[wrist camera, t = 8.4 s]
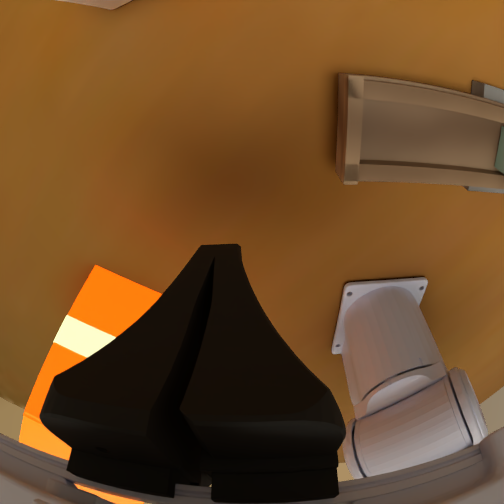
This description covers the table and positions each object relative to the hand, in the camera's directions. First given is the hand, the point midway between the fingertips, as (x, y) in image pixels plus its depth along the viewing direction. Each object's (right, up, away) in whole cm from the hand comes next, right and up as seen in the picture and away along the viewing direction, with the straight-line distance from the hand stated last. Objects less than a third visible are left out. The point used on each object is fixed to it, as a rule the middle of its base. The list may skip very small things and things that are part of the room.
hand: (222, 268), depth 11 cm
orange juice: (-10, -5, +17) cm, 20 cm away
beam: (+19, +9, +6) cm, 22 cm away
